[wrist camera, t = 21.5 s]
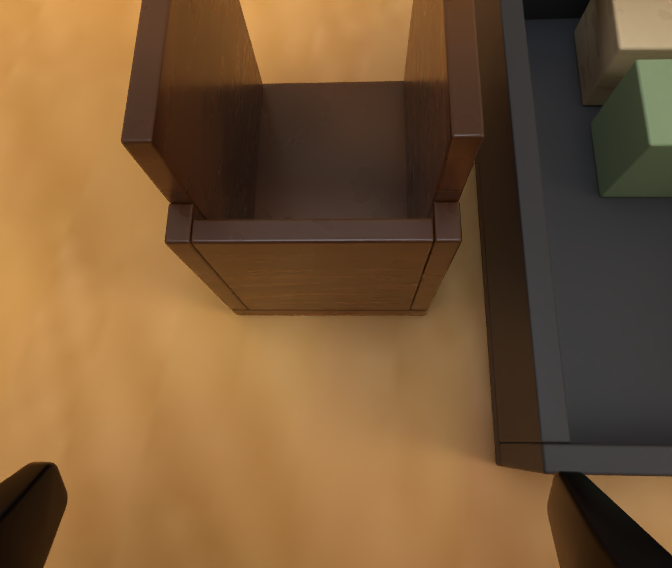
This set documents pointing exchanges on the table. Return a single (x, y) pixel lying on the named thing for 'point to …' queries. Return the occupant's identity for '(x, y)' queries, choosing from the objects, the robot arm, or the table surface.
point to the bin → (566, 264)
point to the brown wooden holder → (306, 162)
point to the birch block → (619, 42)
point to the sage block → (636, 133)
